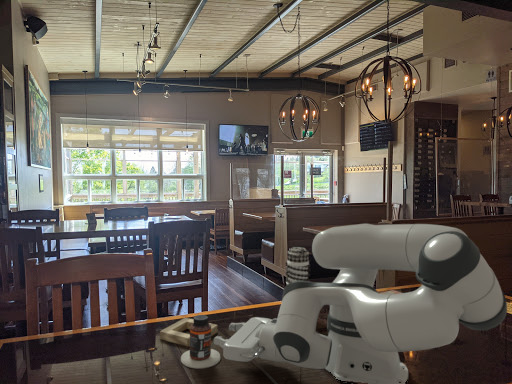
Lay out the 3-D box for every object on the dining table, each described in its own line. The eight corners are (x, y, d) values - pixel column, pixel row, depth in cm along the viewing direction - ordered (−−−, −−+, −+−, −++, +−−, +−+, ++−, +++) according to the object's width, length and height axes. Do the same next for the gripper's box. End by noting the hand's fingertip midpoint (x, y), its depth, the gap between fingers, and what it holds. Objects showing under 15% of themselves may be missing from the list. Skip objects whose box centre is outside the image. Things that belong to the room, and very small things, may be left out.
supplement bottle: (206, 362, 107) (207, 322, 106) (186, 360, 108) (186, 320, 107) (213, 352, 113) (214, 314, 112) (194, 350, 114) (194, 312, 113)
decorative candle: (303, 321, 139) (304, 251, 138) (280, 316, 144) (281, 248, 142) (313, 313, 147) (315, 247, 145) (291, 308, 152) (292, 244, 150)
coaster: (227, 355, 113) (227, 352, 113) (206, 372, 103) (206, 370, 103) (196, 346, 118) (196, 344, 118) (172, 362, 108) (172, 360, 108)
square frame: (217, 332, 128) (217, 324, 128) (194, 348, 117) (194, 339, 117) (185, 324, 134) (185, 317, 134) (160, 339, 123) (160, 331, 122)
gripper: (255, 372, 93) (204, 361, 98) (281, 338, 113) (237, 329, 117) (256, 346, 93) (204, 336, 98) (281, 316, 112) (237, 309, 117)
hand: (222, 332), depth 108 cm, fingers open, 8 cm apart
